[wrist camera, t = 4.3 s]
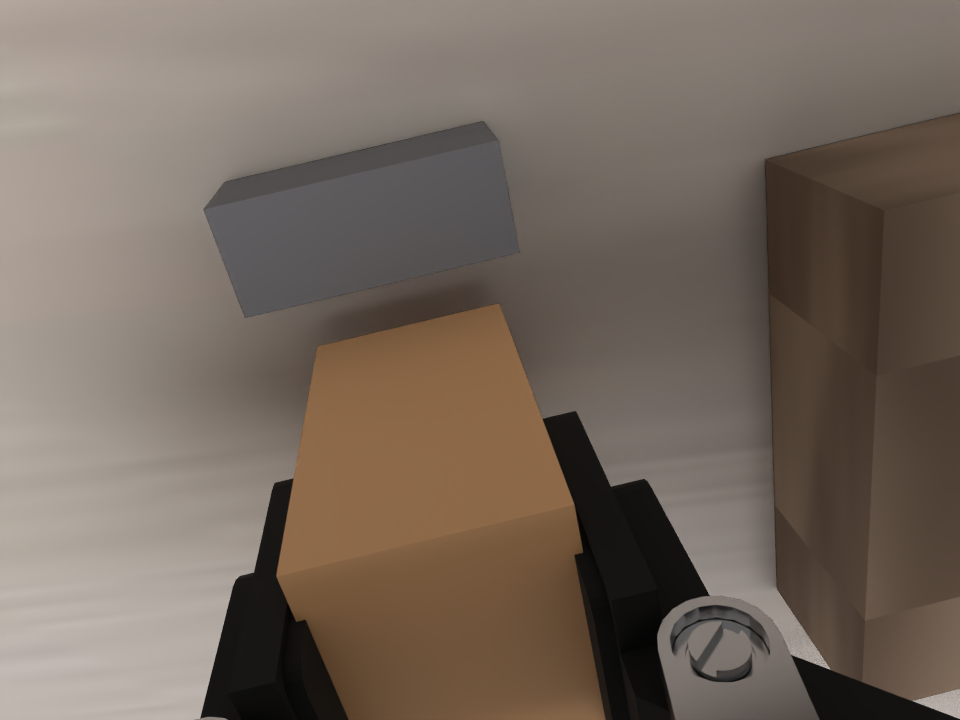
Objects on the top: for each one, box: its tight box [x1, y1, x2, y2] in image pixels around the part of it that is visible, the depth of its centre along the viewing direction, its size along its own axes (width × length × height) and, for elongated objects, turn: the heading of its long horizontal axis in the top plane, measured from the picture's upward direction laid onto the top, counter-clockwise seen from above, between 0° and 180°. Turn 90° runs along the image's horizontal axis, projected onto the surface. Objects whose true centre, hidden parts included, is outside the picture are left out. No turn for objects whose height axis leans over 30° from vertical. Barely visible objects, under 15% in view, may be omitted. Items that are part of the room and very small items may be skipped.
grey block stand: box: [203, 122, 520, 318], centre depth 16 cm, size 5×10×2 cm, turn 12°
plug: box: [276, 303, 606, 720], centre depth 12 cm, size 3×4×6 cm
